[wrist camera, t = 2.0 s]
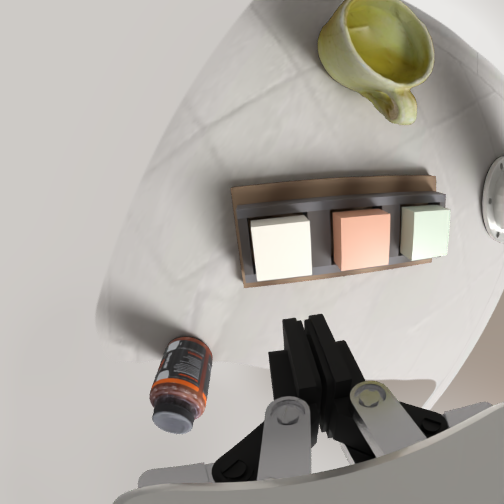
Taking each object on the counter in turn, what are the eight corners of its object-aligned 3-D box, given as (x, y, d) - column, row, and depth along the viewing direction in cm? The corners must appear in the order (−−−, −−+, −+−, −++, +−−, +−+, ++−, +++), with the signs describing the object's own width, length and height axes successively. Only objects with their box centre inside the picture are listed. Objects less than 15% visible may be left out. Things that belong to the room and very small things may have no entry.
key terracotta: (378, 208, 24) (390, 213, 21) (377, 255, 25) (388, 264, 23) (332, 212, 24) (340, 218, 21) (333, 260, 25) (341, 271, 23)
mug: (294, 1, 18) (358, -30, 10) (372, 24, 21) (441, 16, 13) (295, 110, 24) (363, 119, 16) (372, 118, 27) (442, 134, 19)
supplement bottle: (162, 333, 32) (133, 401, 21) (209, 334, 32) (196, 407, 21) (172, 369, 34) (152, 436, 23) (215, 370, 34) (207, 441, 23)
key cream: (303, 214, 24) (309, 221, 21) (306, 264, 25) (312, 274, 23) (250, 220, 24) (250, 227, 22) (256, 270, 25) (257, 281, 23)
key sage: (436, 204, 23) (450, 209, 21) (434, 247, 25) (446, 255, 23) (401, 206, 24) (414, 212, 21) (399, 252, 25) (411, 260, 23)
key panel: (429, 175, 26) (448, 178, 22) (426, 258, 29) (442, 269, 26) (231, 187, 26) (228, 191, 23) (244, 282, 29) (243, 298, 26)
